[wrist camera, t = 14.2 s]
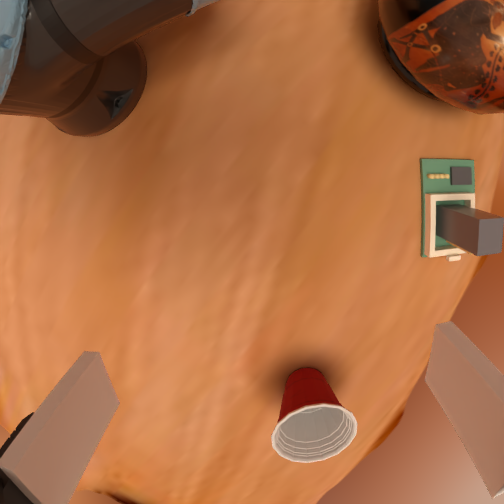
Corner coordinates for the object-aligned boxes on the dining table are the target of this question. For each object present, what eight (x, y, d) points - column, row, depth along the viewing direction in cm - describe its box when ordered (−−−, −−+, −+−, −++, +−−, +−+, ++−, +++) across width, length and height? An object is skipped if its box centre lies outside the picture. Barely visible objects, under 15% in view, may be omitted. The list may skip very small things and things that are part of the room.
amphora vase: (483, 18, 28) (600, -33, 1) (484, 140, 34) (644, 151, 7) (358, -34, 28) (430, -160, 1) (349, 95, 34) (495, -2, 7)
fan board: (419, 158, 35) (430, 159, 33) (471, 159, 35) (483, 160, 32) (420, 257, 39) (430, 263, 36) (470, 250, 38) (481, 256, 35)
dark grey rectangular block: (435, 205, 36) (479, 219, 27) (458, 204, 36) (503, 217, 26) (435, 240, 38) (476, 263, 28) (458, 238, 37) (500, 259, 28)
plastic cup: (355, 366, 44) (376, 421, 32) (316, 413, 47) (325, 468, 35) (293, 341, 43) (301, 398, 31) (257, 392, 46) (255, 450, 34)
